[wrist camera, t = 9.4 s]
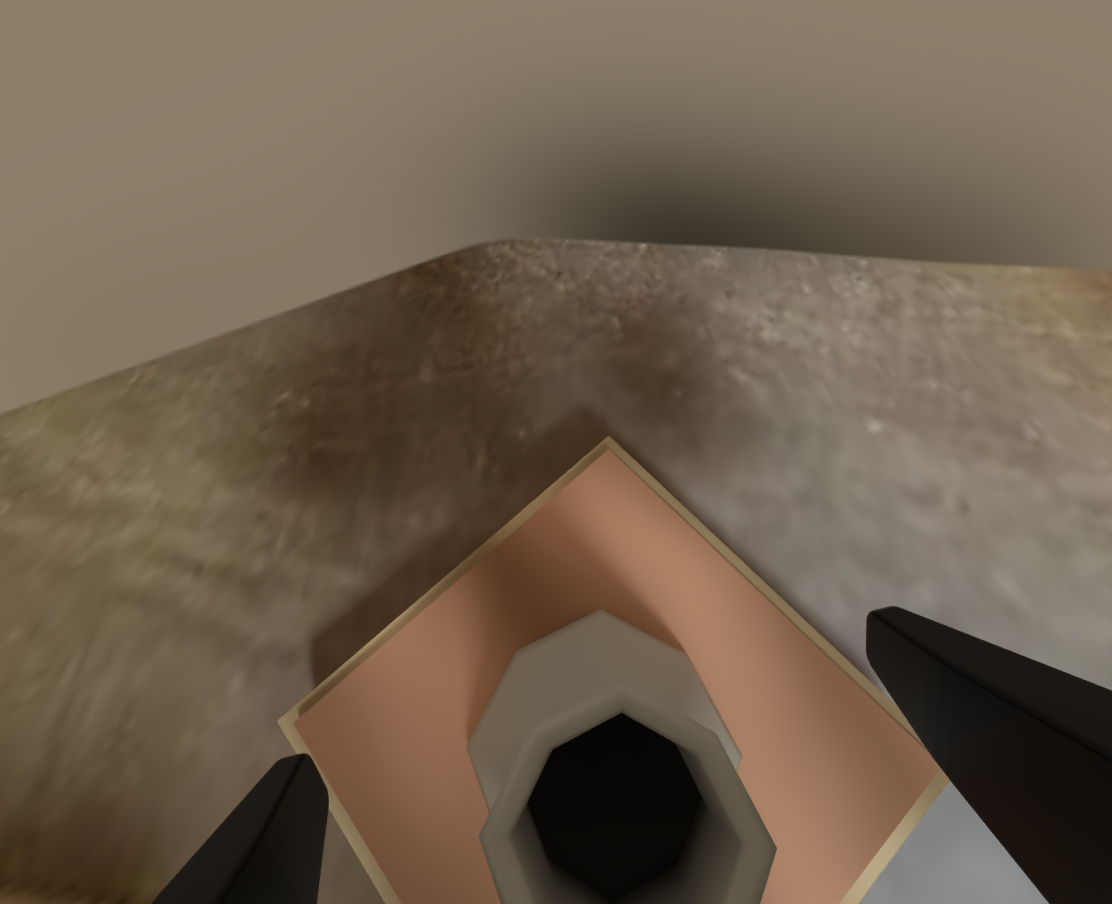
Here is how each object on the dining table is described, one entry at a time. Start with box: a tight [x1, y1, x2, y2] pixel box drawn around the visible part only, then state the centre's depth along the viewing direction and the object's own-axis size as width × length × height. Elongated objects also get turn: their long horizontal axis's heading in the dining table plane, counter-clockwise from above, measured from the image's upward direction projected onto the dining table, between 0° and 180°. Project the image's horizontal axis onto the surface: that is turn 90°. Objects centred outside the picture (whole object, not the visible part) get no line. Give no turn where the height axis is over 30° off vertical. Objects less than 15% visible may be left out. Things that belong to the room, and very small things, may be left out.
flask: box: [466, 609, 777, 904], centre depth 11 cm, size 7×7×10 cm
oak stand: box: [277, 436, 950, 904], centre depth 17 cm, size 14×14×3 cm
